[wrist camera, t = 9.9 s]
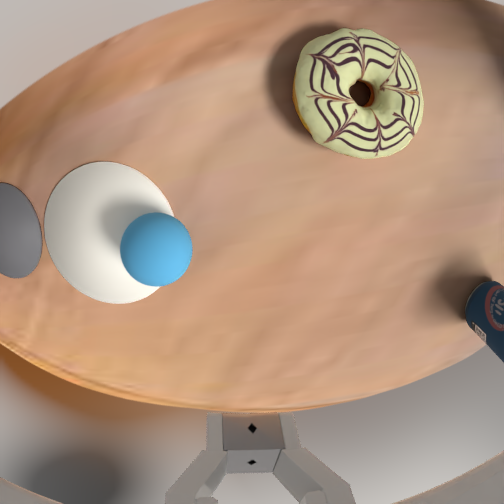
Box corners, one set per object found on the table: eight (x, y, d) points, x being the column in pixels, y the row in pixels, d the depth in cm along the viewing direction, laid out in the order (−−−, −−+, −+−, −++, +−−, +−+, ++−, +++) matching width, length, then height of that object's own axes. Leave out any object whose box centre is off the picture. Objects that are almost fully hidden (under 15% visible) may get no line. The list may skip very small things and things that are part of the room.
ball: (167, 201, 19) (146, 193, 23) (110, 267, 18) (101, 245, 22) (218, 253, 22) (189, 236, 26) (169, 312, 21) (148, 284, 25)
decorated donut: (275, 41, 19) (284, 26, 16) (392, 38, 19) (415, 29, 16) (300, 164, 24) (314, 170, 20) (412, 148, 24) (436, 153, 20)
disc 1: (3, 161, 20) (2, 161, 20) (59, 241, 24) (58, 242, 24) (-35, 224, 22) (-36, 225, 21) (14, 293, 25) (13, 294, 25)
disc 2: (114, 128, 21) (113, 128, 21) (209, 252, 25) (209, 253, 25) (24, 224, 23) (23, 225, 22) (108, 323, 27) (108, 324, 27)
